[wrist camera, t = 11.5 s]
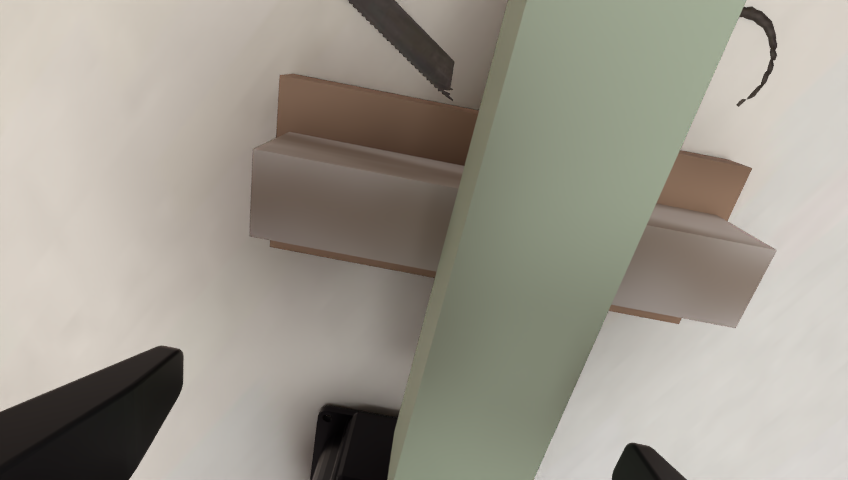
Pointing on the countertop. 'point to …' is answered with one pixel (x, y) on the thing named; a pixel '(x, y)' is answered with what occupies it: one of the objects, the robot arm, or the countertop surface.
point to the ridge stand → (437, 189)
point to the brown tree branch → (438, 66)
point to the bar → (548, 221)
